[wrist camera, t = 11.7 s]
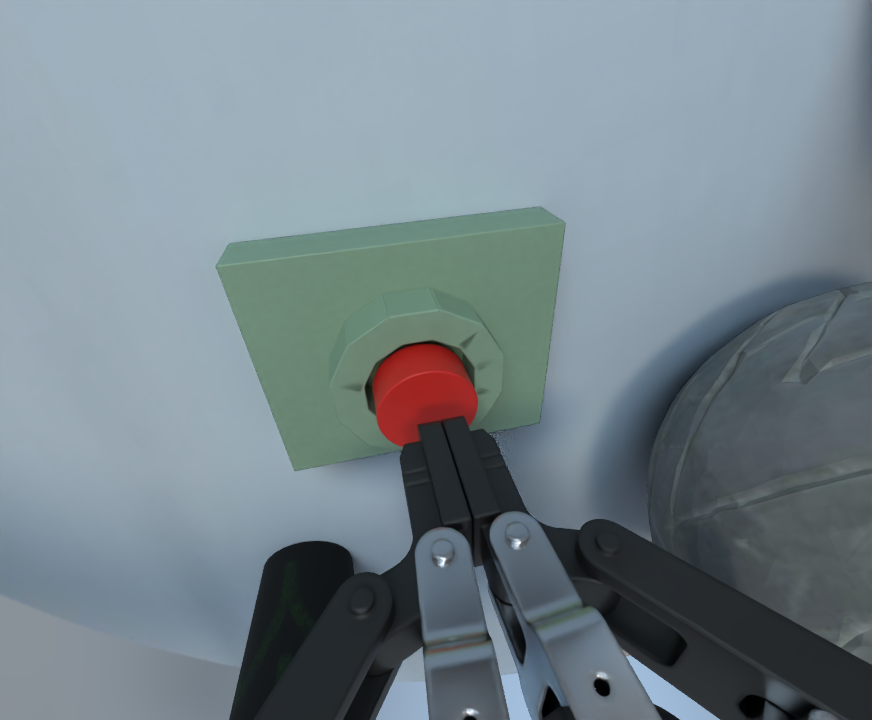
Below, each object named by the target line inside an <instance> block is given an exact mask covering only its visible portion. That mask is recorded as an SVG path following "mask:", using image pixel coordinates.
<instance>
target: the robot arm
mask: <svg viewBox="0 0 872 720" xmlns="http://www.w3.org/2000/svg"><path fill="white" fill-rule="evenodd" d="M417 429H418V438H419V441H417V442H412V443H407V444H404V446H403V449H402V452H401V455H400V464H401V470H402V476H403V483H404V489H405V495H406V500H407V506H408V511H409V517H410V523H411V528H412V534H413V542H412V546H411V548H410V550H409V552H408V554H407V555H406V557H405V558H404V559H403V560H402V561H401V562H400V563H399V564H397V565H396V566H394V567H393V568H391V569H389V570H388V571H386V572H385V573H383V574H381V575H378V574H375V573H371V572H363V573H359V574H356V575H353V576H352V577H350V578H348V579H347V580H346V581H345V582H344V583H343V584H342V585H341V586H340V587H339V588H338V590H337V591H336V593H335V594H334V596H333V597H332V599H331V601H330V602H329V604H328V605H327V607H326V608H325V610H324V611H323V613H322V614H321V616H320V617H319V619H318V621H317V622H316V624H315V625H314V627H313V628H312V630H311V631H310V633H309V634H308V636H307V637H306V639H305V641H304V642H303V644H302V645H301V647H300V648H299V650H298V651H297V653H296V654H295V656H294V657H293V659H292V661H291V662H290V664H289V665H288V667H287V668H286V670H285V671H284V673H283V674H282V676H281V677H280V679H279V681H278V682H277V684H276V685H275V687H274V688H273V690H272V691H271V693H270V694H269V696H268V698H267V699H266V701H265V702H264V704H263V705H262V707H261V708H260V710H259V711H258V713H257V714H256V716H255V718H254V719H253V720H375V719H376V717H377V715H378V713H379V711H380V708H381V706H382V704H383V702H384V700H385V698H386V696H387V694H388V691H389V689H390V687H391V685H392V683H393V681H394V679H395V676H396V674H397V672H398V670H399V668H400V666H401V663H402V661H403V660H405V659H406V658H407V657H409V656H410V655H412V654H413V653H414V652H416V651H417V650H418V649H420V648H421V647H423V657H424V669H425V680H426V691H427V701H428V712H429V720H510V718H509V714H508V708H507V704H506V699H505V695H504V690H503V686H502V681H501V676H500V672H499V667H498V662H497V658H496V653H495V649H494V646H493V642H492V639H491V637H490V635H489V633H488V630H487V626H486V621H485V617H484V612H483V607H482V602H481V598H480V593H479V588H478V583H477V579H476V574H475V569H474V567H476V566H481V565H483V566H484V569H485V572H486V576H487V579H488V593H489V596H490V599H491V601H492V604H493V607H494V609H495V612H496V615H497V617H498V620H499V622H500V625H501V628H502V630H503V633H504V636H505V638H506V641H507V643H508V646H509V649H510V651H511V654H512V657H513V659H514V662H515V665H516V667H517V671H518V674H519V678H520V684H521V689H522V692H523V695H524V699H525V702H526V705H527V708H528V711H529V713H530V716H531V719H532V720H679V719H678V718H677V717H675V716H674V715H672V714H671V713H669V712H668V711H666V710H664V709H663V708H661V707H659V706H657V705H655V704H653V703H652V701H651V700H650V698H649V696H648V694H647V692H646V691H645V689H644V687H643V685H642V684H641V682H640V680H639V679H638V677H637V675H636V673H635V672H634V670H633V668H632V666H631V665H630V663H629V661H628V659H627V658H626V656H625V654H624V652H623V651H622V649H623V650H624V651H625V652H627V653H628V654H630V655H631V656H632V657H634V658H635V659H637V660H638V661H639V662H641V663H642V664H644V665H645V666H646V667H648V668H649V669H651V670H652V671H653V672H655V673H656V674H658V675H659V676H660V677H662V678H663V679H664V680H666V681H668V682H669V683H670V684H671V685H673V686H674V687H676V688H677V689H678V690H680V691H681V692H683V693H684V694H685V695H687V696H688V697H690V698H691V699H692V700H694V701H695V702H697V703H698V704H699V705H701V706H702V707H704V708H705V709H706V710H708V711H709V712H710V713H712V714H714V715H715V716H716V717H717V718H719V719H720V720H872V665H871V664H869V663H867V662H866V661H864V660H862V659H860V658H858V657H857V656H855V655H853V654H851V653H849V652H848V651H846V650H844V649H842V648H840V647H839V646H837V645H835V644H833V643H831V642H830V641H828V640H826V639H824V638H822V637H821V636H819V635H817V634H815V633H813V632H812V631H810V630H808V629H806V628H804V627H803V626H801V625H799V624H797V623H795V622H794V621H792V620H790V619H788V618H786V617H785V616H783V615H781V614H779V613H777V612H776V611H774V610H772V609H770V608H768V607H767V606H765V605H763V604H761V603H759V602H757V601H756V600H754V599H752V598H750V597H748V596H747V595H745V594H743V593H741V592H739V591H738V590H736V589H734V588H732V587H730V586H729V585H727V584H725V583H723V582H721V581H720V580H718V579H716V578H714V577H712V576H711V575H709V574H707V573H705V572H703V571H702V570H700V569H698V568H696V567H694V566H693V565H691V564H689V563H687V562H685V561H684V560H682V559H680V558H678V557H676V556H675V555H673V554H671V553H669V552H667V551H666V550H664V549H662V548H660V547H658V546H657V545H655V544H653V543H651V542H649V541H648V540H646V539H644V538H642V537H640V536H639V535H637V534H635V533H633V532H631V531H630V530H628V529H626V528H624V527H622V526H621V525H619V524H617V523H615V522H612V521H609V520H605V519H594V520H591V521H588V522H586V523H585V524H584V525H583V526H582V527H581V529H580V530H575V529H564V528H555V527H550V526H547V525H545V524H542V523H541V522H539V521H537V520H536V519H535V518H533V517H532V516H531V515H530V514H529V512H528V511H527V510H526V508H525V506H524V504H523V502H522V499H521V497H520V495H519V493H518V490H517V488H516V486H515V484H514V481H513V479H512V477H511V475H510V473H509V470H508V468H507V466H506V464H505V461H504V459H503V457H502V455H501V452H500V450H499V448H498V446H497V444H496V441H495V439H494V438H493V437H492V436H491V435H489V434H488V433H487V432H486V431H485V430H484V429H479V430H473V431H470V429H469V426H468V424H467V421H466V419H465V417H464V416H458V417H453V418H447V419H442V420H441V421H440V420H437V421H432V422H427V423H421V424H417ZM595 688H596V689H595Z"/></svg>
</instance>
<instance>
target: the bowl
mask: <svg viewBox="0 0 872 720" xmlns="http://www.w3.org/2000/svg"><path fill="white" fill-rule="evenodd" d="M647 489H648V514H649V524H650V530H651V536H652V542H653V544H655V545H657V546H658V547H660V548H662V549H664V550H666V551H667V552H669V553H671V554H673V555H675V556H676V557H678V558H680V559H682V560H684V561H685V562H687V563H689V564H691V565H693V566H694V567H696V568H698V569H700V570H702V571H703V572H705V573H707V574H709V575H711V576H712V577H714V578H716V579H718V580H720V581H721V582H723V583H725V584H727V585H729V586H730V587H732V588H734V589H736V590H738V591H739V592H741V593H743V594H745V595H747V596H748V597H750V598H752V599H754V600H756V601H757V602H759V603H761V604H763V605H765V606H767V607H768V608H770V609H772V610H774V611H776V612H777V613H779V614H781V615H783V616H785V617H786V618H788V619H790V620H792V621H794V622H795V623H797V624H799V625H801V626H803V627H804V628H806V629H808V630H810V631H812V632H813V633H815V634H817V635H819V636H821V637H822V638H824V639H826V640H828V641H830V642H831V643H833V644H835V645H837V646H839V647H840V648H842V649H844V650H846V651H848V652H849V653H851V654H853V655H855V656H857V657H858V658H860V659H862V660H864V661H866V662H867V663H869V664H871V665H872V282H867V283H862V284H858V285H854V286H850V287H847V288H843V289H840V290H834V291H829V292H826V293H823V294H820V295H817V296H814V297H812V298H809V299H806V300H803V301H800V302H797V303H794V304H791V305H788V306H786V307H784V308H782V309H780V310H778V311H776V312H774V313H772V314H770V315H768V316H767V317H765V318H763V319H761V320H759V321H758V322H756V323H755V324H753V325H752V326H750V327H749V328H747V329H746V330H744V331H743V332H742V333H740V334H739V335H738V336H736V337H735V338H734V339H732V340H731V341H730V342H728V343H727V344H725V345H724V346H723V347H722V348H721V349H719V350H718V351H717V352H716V353H714V354H713V355H712V356H711V357H710V358H709V359H708V360H707V361H706V362H705V363H704V364H702V365H701V367H700V368H699V369H698V370H697V371H696V372H695V373H694V374H693V375H692V376H691V377H690V379H689V380H688V381H687V382H686V383H685V385H684V386H683V387H682V388H681V390H680V391H679V392H678V394H677V395H676V397H675V398H674V400H673V401H672V403H671V405H670V407H669V409H668V411H667V413H666V415H665V417H664V419H663V422H662V424H661V426H660V428H659V430H658V433H657V436H656V440H655V443H654V446H653V449H652V453H651V458H650V462H649V467H648V484H647Z"/></svg>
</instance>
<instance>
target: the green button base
mask: <svg viewBox="0 0 872 720" xmlns="http://www.w3.org/2000/svg"><path fill="white" fill-rule="evenodd" d="M565 224H566V223H565V222H564V221H563V220H561V219H559V218H558V217H556V216H555V215H553V214H552V213H550V212H548V211H547V210H545V209H544V208H542V207H533V208H525V209H516V210H508V211H500V212H491V213H483V214H474V215H466V216H457V217H449V218H440V219H432V220H424V221H415V222H407V223H398V224H390V225H381V226H373V227H364V228H356V229H348V230H339V231H331V232H322V233H314V234H305V235H297V236H288V237H280V238H271V239H263V240H255V241H246V242H238V243H230V244H229V245H228V246H227V248H226V250H225V251H224V253H223V255H222V257H221V258H220V260H219V262H218V263H217V265H216V268H217V271H218V274H219V276H220V279H221V281H222V284H223V287H224V289H225V292H226V294H227V297H228V300H229V302H230V305H231V307H232V310H233V313H234V315H235V318H236V320H237V323H238V326H239V328H240V331H241V333H242V336H243V339H244V341H245V344H246V346H247V349H248V352H249V354H250V357H251V359H252V362H253V365H254V367H255V370H256V372H257V375H258V378H259V380H260V383H261V385H262V388H263V391H264V393H265V396H266V398H267V401H268V404H269V406H270V409H271V411H272V414H273V417H274V419H275V422H276V424H277V427H278V430H279V432H280V435H281V437H282V440H283V443H284V445H285V448H286V450H287V453H288V456H289V458H290V461H291V463H292V466H293V469H294V471H298V470H304V469H309V468H314V467H319V466H324V465H329V464H334V463H339V462H344V461H349V460H354V459H359V458H364V457H369V456H375V455H380V454H385V453H390V452H395V451H402V449H403V447H401V446H398V445H396V444H394V443H392V442H391V441H389V440H388V439H387V438H386V437H385V436H384V435H383V433H382V432H381V431H380V429H379V427H378V423H377V418H376V410H375V403H374V396H373V380H374V376H375V374H376V372H377V370H378V368H379V367H380V365H381V364H382V363H383V362H384V361H385V360H386V359H387V358H388V357H389V356H390V355H392V354H393V353H395V352H396V351H398V350H400V349H402V348H405V347H408V346H411V345H416V344H434V345H439V346H442V347H445V348H447V349H449V350H450V351H452V352H453V353H455V354H456V355H457V356H458V357H459V358H460V360H461V361H462V363H463V365H464V367H465V369H466V371H467V374H468V376H469V378H470V380H471V382H472V384H473V387H474V389H475V391H476V393H477V397H478V408H477V412H476V415H475V418H474V420H473V421H472V423H471V425H470V426H469V429H470V431H473V430H479V429H484V430H485V431H486V432H487V433H491V432H496V431H501V430H507V429H512V428H517V427H522V426H527V425H532V424H537V423H540V417H541V409H542V402H543V394H544V386H545V379H546V371H547V363H548V355H549V348H550V340H551V332H552V325H553V317H554V309H555V301H556V294H557V286H558V278H559V270H560V263H561V255H562V247H563V240H564V232H565Z"/></svg>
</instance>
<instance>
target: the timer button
mask: <svg viewBox="0 0 872 720" xmlns="http://www.w3.org/2000/svg"><path fill="white" fill-rule="evenodd" d="M373 396H374V403H375V410H376V418H377V423H378V427H379V429H380V431H381V432H382V433H383V435H384V436H385V437H386V438H387V439H388V440H389V441H391V442H392V443H394V444H396V445H398V446H401V447H403V446H404V444H407V443H412V442H417V441H419V438H418V429H417V424H421V423H427V422H432V421H437V420H440V421H441V420H442V419H447V418H453V417H458V416H464V417H465V419H466V421H467V424H468V426H470V425H471V423H472V421H473V420H474V418H475V415H476V412H477V408H478V397H477V393H476V391H475V389H474V387H473V384H472V382H471V380H470V378H469V376H468V374H467V371H466V369H465V367H464V365H463V363H462V361H461V360H460V358H459V357H458V356H457V355H456V354H455V353H453V352H452V351H450V350H449V349H447V348H445V347H442V346H439V345H434V344H416V345H411V346H408V347H405V348H402V349H400V350H398V351H396V352H395V353H393V354H392V355H390V356H389V357H388V358H387V359H386V360H385V361H384V362H383V363H382V364H381V365H380V367H379V368H378V370H377V372H376V374H375V376H374V380H373Z"/></svg>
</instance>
